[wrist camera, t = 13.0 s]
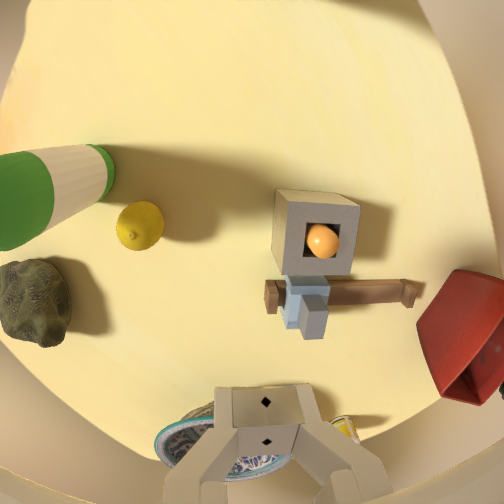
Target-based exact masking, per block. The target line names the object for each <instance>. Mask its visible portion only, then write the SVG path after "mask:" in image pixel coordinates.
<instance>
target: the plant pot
mask: <svg viewBox="0 0 504 504" xmlns="http://www.w3.org/2000/svg"><path fill="white" fill-rule="evenodd" d="M416 326H417V332H418V336H419V340H420V344H421V347H422V350H423V354H424V357H425V360H426V362H427V365H428V368H429V370H430V373H431V375H432V378H433V380H434V383H435V385H436V387H437V389H438V392H439V394H440V396H441V397H444V398H448V399H452V400H456V401H460V402H465V403H469V404H473V405H476V406H481V405H482V404H484V403H485V402H486V400H487V399H488V398H489V397H490V396H491V395H492V394H493V393H494V392H495V391H496V389H497V388H498V387H499V386H500V385H501V383H502V382H503V381H504V280H501V279H499V278H496V277H493V276H489V275H486V274H482V273H477V272H472V271H466V270H454V271H453V272H452V273H451V274H450V276H449V277H448V279H447V280H446V282H445V283H444V285H443V286H442V288H441V289H440V291H439V292H438V294H437V295H436V297H435V298H434V299H433V301H432V302H431V304H430V305H429V306H428V308H427V309H426V310H425V312H424V313H423V314H422V316H421V317H420V318H419V320H418V321H417V324H416Z"/></svg>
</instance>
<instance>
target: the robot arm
mask: <svg viewBox="0 0 504 504" xmlns="http://www.w3.org/2000/svg"><path fill="white" fill-rule="evenodd" d="M283 454H291V456H292V457H293V458H294V459H295V460H296V461H297V462H298V463H299V464H300V465H301V466H302V467H303V468H304V469H305V470H306V471H307V472H308V473H309V474H310V475H311V476H312V477H313V478H314V479H315V480H316V481H317V482H318V483H319V484H320V485H321V486H322V489H321V490H320V492H319V493H318V495H317V496H316V498H315V499H314V500H313V502H312V504H504V438H502V439H501V440H499V441H498V442H496V443H495V444H493V445H492V446H490V447H488V448H487V449H485V450H483V451H482V452H480V453H478V454H477V455H475V456H473V457H471V458H470V459H468V460H466V461H464V462H462V463H460V464H459V465H457V466H455V467H453V468H451V469H449V470H447V471H445V472H442V473H440V474H438V475H436V476H434V477H432V478H429V479H427V480H425V481H422V482H420V483H418V484H415V485H413V486H410V487H407V488H405V489H402V490H400V491H397V492H394V491H393V489H392V486H391V484H390V481H389V479H388V476H387V474H386V471H385V469H384V466H383V464H382V461H381V460H380V459H379V458H378V457H376V456H375V455H373V454H372V453H371V452H369V451H368V450H366V449H365V448H363V447H362V446H361V445H359V444H358V443H356V442H355V441H354V440H352V439H351V438H349V437H348V436H347V435H345V434H344V433H343V432H341V431H340V430H339V429H337V428H336V427H335V426H333V425H332V424H331V423H329V422H328V421H323V420H322V417H321V414H320V411H319V408H318V405H317V402H316V399H315V396H314V393H313V390H312V386H311V385H310V384H309V383H307V384H296V385H281V386H264V387H232V390H231V387H215V390H214V428H209V429H208V430H207V431H206V432H205V433H204V434H203V436H202V437H201V438H200V439H199V440H198V441H197V442H196V444H195V445H194V446H193V447H192V448H191V449H190V450H189V451H188V453H187V454H186V455H185V456H184V457H183V458H182V459H181V460H180V461H179V462H178V464H177V465H176V466H175V467H174V468H173V469H172V470H171V471H170V472H169V473H168V474H167V475H166V477H165V481H164V491H163V501H162V504H228V498H227V485H225V484H224V483H222V482H223V481H224V480H225V478H226V477H227V475H228V474H229V472H230V471H231V469H232V467H233V466H234V464H235V463H236V461H237V460H238V457H251V456H264V455H283ZM0 504H96V503H92V502H88V501H85V500H82V499H79V498H75V497H72V496H69V495H66V494H63V493H61V492H58V491H55V490H53V489H50V488H47V487H45V486H43V485H40V484H38V483H35V482H33V481H31V480H28V479H26V478H24V477H22V476H20V475H17V474H15V473H13V472H12V471H9V470H8V469H5V468H4V467H2V466H0Z"/></svg>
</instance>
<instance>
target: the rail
mask: <svg viewBox="0 0 504 504" xmlns="http://www.w3.org/2000/svg"><path fill="white" fill-rule="evenodd" d="M327 281H328V283H329V284H330V286H331V287H330V292H329V297H328V303H327V305H351V304H373V303H391V302H401V303H402V304H403V305H404V306H405V307H406V308H413V305H414V302H415V298H416V295H417V292H418V290H417V289H416V288H415V287H413V286H412V285H411V284H410V283H409V282H408V281H407V280H406V279H390V280H327ZM286 287H287V284H286V281H285V280H276V282H275V281H274V280H266V282H265V294H264V301H265V305H266V309H267V314H277V306H284V304H285V295H286Z"/></svg>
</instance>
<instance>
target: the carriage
mask: <svg viewBox="0 0 504 504" xmlns="http://www.w3.org/2000/svg"><path fill="white" fill-rule="evenodd" d="M284 279H285V281H286V284H287V287H286V295H285V304H284V306H281V313H282V317H283V320H284V323H285V327H286V329H300V331H301V333H302V336H303V339H304V340H311V339H323V336H324V332H325V327H326V323H327V318H328V313H329V310H328V308H327V303H328V297H329V292H330V287H331V286H330V284H329V283H328V281H327V280H326V278H325V277H324V275H284Z"/></svg>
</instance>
